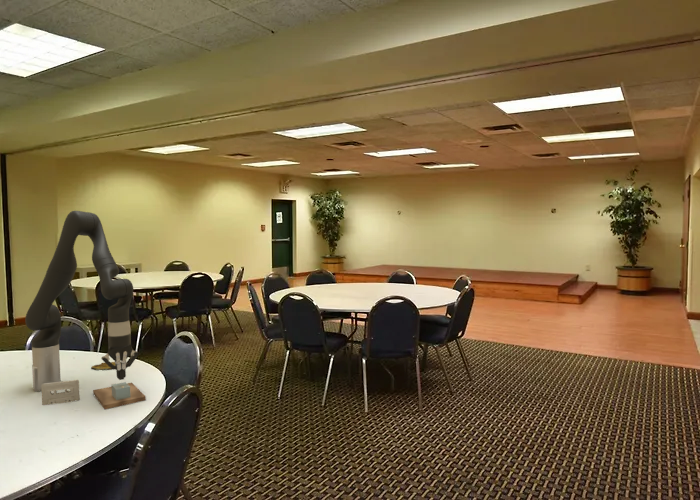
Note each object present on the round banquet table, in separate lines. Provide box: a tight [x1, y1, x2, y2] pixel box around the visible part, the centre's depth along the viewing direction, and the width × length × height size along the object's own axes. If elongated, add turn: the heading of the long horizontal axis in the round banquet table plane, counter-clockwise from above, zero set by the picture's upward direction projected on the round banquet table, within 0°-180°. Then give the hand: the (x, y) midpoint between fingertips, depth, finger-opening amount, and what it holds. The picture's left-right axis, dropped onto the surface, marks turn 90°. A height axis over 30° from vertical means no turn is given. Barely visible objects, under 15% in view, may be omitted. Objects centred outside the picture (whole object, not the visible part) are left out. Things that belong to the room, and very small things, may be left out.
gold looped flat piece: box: [91, 361, 121, 371], centre depth 221 cm, size 9×5×15 cm
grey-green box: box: [111, 381, 130, 400], centre depth 179 cm, size 7×5×4 cm
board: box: [92, 382, 147, 410], centre depth 183 cm, size 14×20×4 cm
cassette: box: [41, 379, 81, 406], centre depth 178 cm, size 12×2×8 cm, turn 113°
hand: (121, 379), depth 179 cm, fingers closed
